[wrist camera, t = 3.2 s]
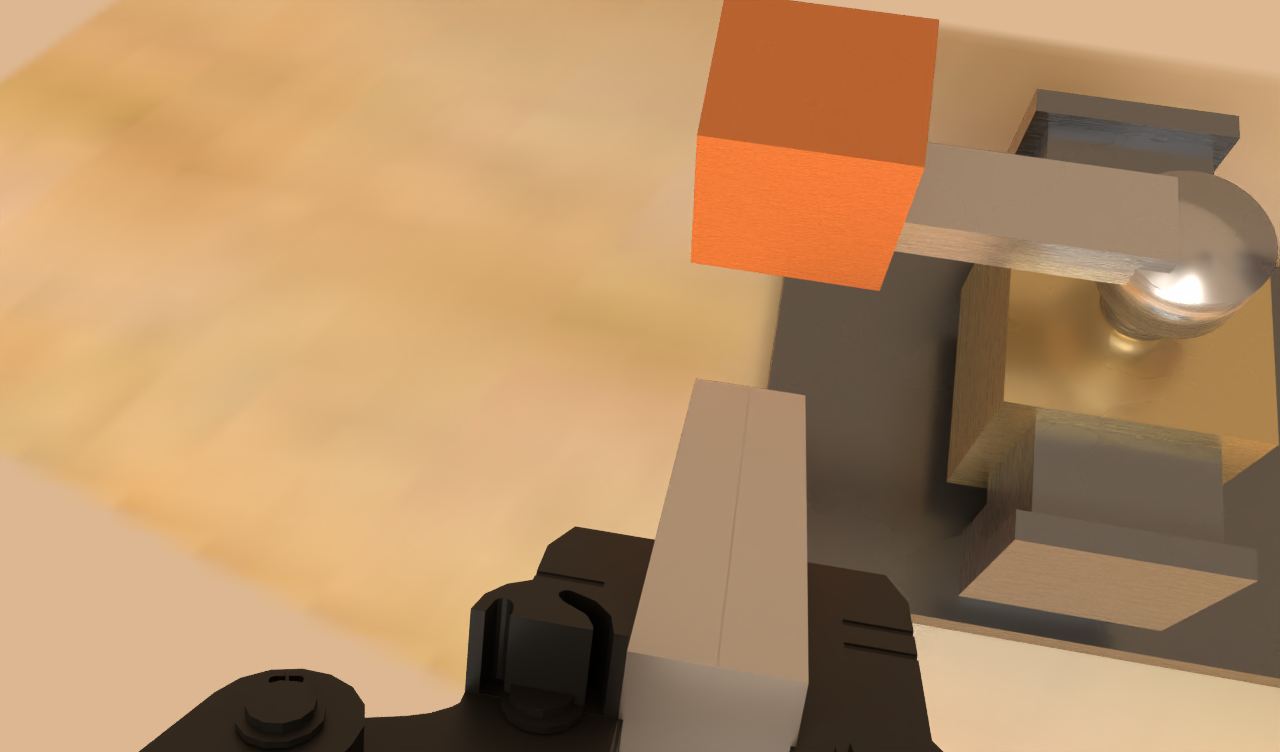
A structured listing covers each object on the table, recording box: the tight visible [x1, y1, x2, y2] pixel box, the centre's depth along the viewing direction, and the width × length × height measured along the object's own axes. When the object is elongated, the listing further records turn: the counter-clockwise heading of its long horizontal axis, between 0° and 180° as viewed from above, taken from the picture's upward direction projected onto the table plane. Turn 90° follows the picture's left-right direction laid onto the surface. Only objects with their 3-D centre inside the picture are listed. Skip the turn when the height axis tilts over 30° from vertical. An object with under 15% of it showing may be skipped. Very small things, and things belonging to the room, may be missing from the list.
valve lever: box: [691, 0, 1278, 339], centre depth 20 cm, size 10×3×4 cm, turn 80°
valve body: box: [767, 89, 1280, 688], centre depth 26 cm, size 14×11×8 cm
